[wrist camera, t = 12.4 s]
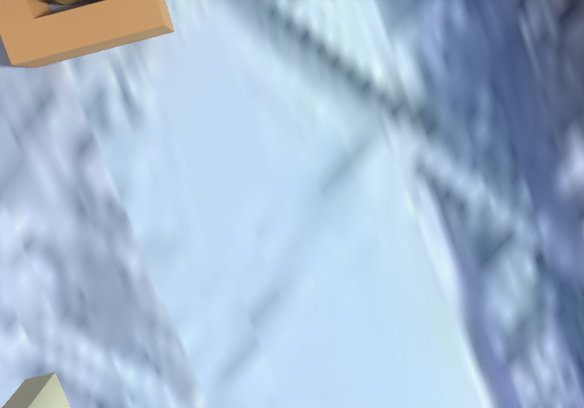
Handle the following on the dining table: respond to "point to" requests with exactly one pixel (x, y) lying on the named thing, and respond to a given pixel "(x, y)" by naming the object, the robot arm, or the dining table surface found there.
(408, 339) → the dining table surface
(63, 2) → the peg block
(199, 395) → the dining table surface
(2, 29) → the orange square frame
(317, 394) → the dining table surface
